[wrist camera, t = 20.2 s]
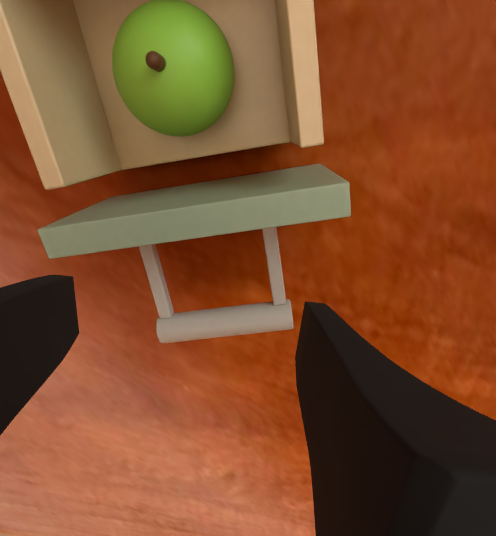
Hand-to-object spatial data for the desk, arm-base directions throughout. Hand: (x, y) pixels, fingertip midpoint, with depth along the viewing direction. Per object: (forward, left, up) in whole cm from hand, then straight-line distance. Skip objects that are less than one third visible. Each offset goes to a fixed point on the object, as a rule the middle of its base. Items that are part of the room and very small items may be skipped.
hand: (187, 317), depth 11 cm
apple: (+5, +6, -8) cm, 11 cm away
